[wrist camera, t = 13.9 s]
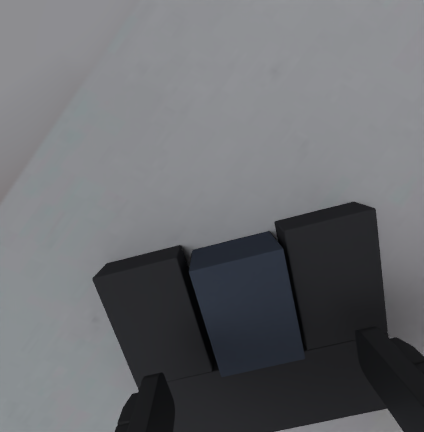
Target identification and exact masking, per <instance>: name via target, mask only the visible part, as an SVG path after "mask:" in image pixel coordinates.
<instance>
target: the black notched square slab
mask: <svg viewBox="0 0 424 432" xmlns="http://www.w3.org/2000/svg"><path fill="white" fill-rule="evenodd" d="M275 227H276V232H277V237H278V242H279V244H280V245H281V247H282V248H283V249H284V254H285V259H286V264H287V269H288V274H289V279H290V284H291V289H292V294H293V299H294V304H295V309H296V314H297V319H298V324H299V329H300V334H301V339H302V344H303V349H304V354H305V359H302V360H297V361H293V362H288V363H284V364H279V365H275V366H270V367H266V368H261V369H257V370H252V371H248V372H243V373H239V374H234V375H229V376H225V377H221V375H220V371H219V368H218V365H217V362H216V359H215V355H214V352H213V349H212V346H211V342H210V339H209V336H208V333H207V329H206V326H205V323H204V320H203V317H202V313H201V310H200V307H199V304H198V300H197V297H196V294H195V291H194V287H193V284H192V281H191V278H190V274H189V270H188V267H187V264H186V261H185V257H184V254H183V251H182V248H181V246H180V245H179V246H175V247H171V248H167V249H163V250H159V251H155V252H151V253H147V254H143V255H139V256H135V257H131V258H127V259H123V260H119V261H115V262H111V263H107V264H106V265H105V266H104V267H103V268H102V269H101V270H100V271H99V272H98V273H97V274H96V275H95V276H94V277H93V282H94V284H95V287H96V289H97V291H98V294H99V296H100V299H101V301H102V303H103V306H104V308H105V311H106V313H107V315H108V318H109V320H110V322H111V325H112V327H113V330H114V332H115V334H116V337H117V339H118V342H119V344H120V346H121V349H122V351H123V354H124V356H125V358H126V361H127V363H128V366H129V368H130V370H131V373H132V375H133V377H134V380H135V382H136V385H137V387H138V390H139V389H140V385H141V382H142V379H143V377H144V376H147V375H152V374H156V373H161V372H162V373H163V374H164V376H165V378H166V381H167V384H168V386H169V389H170V391H171V394H172V397H173V399H174V404H175V421H174V429H173V432H275V431H280V430H285V429H290V428H294V427H299V426H304V425H309V424H314V423H319V422H324V421H328V420H333V419H338V418H343V417H348V416H353V415H358V414H362V413H367V412H372V411H377V410H382V409H387V407H386V406H385V404H384V403H383V401H382V400H381V398H380V397H379V396H378V394H377V393H376V391H375V390H374V388H373V387H372V386H371V384H370V383H369V381H368V380H367V378H366V377H365V375H364V373H363V371H362V369H361V367H360V364H359V360H358V352H357V345H356V337H355V331H356V330H359V329H364V328H368V327H373V326H376V327H378V328H379V329H380V330H381V331H382V332H383V333H384V334H385V335H386V336H387V337H388V333H387V321H386V311H385V301H384V290H383V280H382V270H381V260H380V250H379V240H378V229H377V219H376V210H375V208H372V207H369V206H366V205H363V204H359V203H356V202H351V203H347V204H343V205H339V206H335V207H331V208H327V209H323V210H319V211H315V212H311V213H307V214H303V215H299V216H295V217H291V218H287V219H283V220H279V221H276V222H275Z"/></svg>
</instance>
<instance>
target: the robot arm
mask: <svg viewBox="0 0 424 432" xmlns="http://www.w3.org/2000/svg"><path fill="white" fill-rule="evenodd" d="M355 337H356V345H357V352H358V360H359V364H360V367H361V369H362V371H363V373H364V375H365V377H366V378H367V380H368V381H369V383H370V384H371V386H372V387H373V388H374V390H375V391H376V393H377V394H378V396H379V397H380V398H381V400H382V401H383V403H384V404H385V406H386V407H387V408H388V410H389V411H390V413H391V414H392V416H393V417H394V418H395V420H396V421H397V423H398V424H399V426H400V427H401V428H402V430H403V431H404V432H424V356H423V355H421V354H420V353H419V352H418V351H417V350H416V349H415V348H414V347H413V346H411V345H409V344H408V343H406V342H404V341H402V340H400V339H399V338H397V337H396V338H391V339H389V338H388V337H387V336H386V335H385V334H384V333H383V332H382V331H381V330H380V329H379V328H378V327H376V326H373V327H368V328H364V329H359V330H356V331H355ZM174 421H175V404H174V399H173V397H172V394H171V391H170V389H169V386H168V384H167V381H166V378H165V376H164V374H163V373H162V372H161V373H156V374H152V375H147V376H144V377H143V379H142V382H141V385H140V389H139V392H138V393H134V394H132V395H131V396H130V398H129V399H128V401H127V402H126V404H125V405H124V407H123V409H122V412H121V415H120V418H119V421H118V426H117V427H116V430H115V432H173V429H174Z"/></svg>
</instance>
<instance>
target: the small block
mask: <svg viewBox="0 0 424 432" xmlns="http://www.w3.org/2000/svg"><path fill="white" fill-rule="evenodd" d="M189 274H190V278H191V281H192V284H193V287H194V291H195V294H196V297H197V300H198V304H199V307H200V310H201V313H202V317H203V320H204V323H205V326H206V329H207V333H208V336H209V339H210V342H211V346H212V349H213V352H214V355H215V359H216V362H217V365H218V368H219V371H220V375H221V377H225V376H229V375H234V374H239V373H243V372H248V371H252V370H257V369H261V368H266V367H270V366H275V365H279V364H284V363H288V362H293V361H297V360H302V359H305V354H304V349H303V344H302V339H301V334H300V329H299V324H298V319H297V314H296V309H295V304H294V299H293V294H292V289H291V284H290V279H289V274H288V269H287V264H286V259H285V254H284V249H283V248H282V247H281V245H280V244H279V243H278V242H277V240H276V239H275V238H274V237H273V235H272V234H271V233H270V232H269V231H268V232H264V233H260V234H256V235H252V236H248V237H244V238H240V239H236V240H231V241H227V242H223V243H219V244H215V245H211V246H207V247H203V248H199V249H195V250H193V251H192V256H191V262H190V268H189Z"/></svg>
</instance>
